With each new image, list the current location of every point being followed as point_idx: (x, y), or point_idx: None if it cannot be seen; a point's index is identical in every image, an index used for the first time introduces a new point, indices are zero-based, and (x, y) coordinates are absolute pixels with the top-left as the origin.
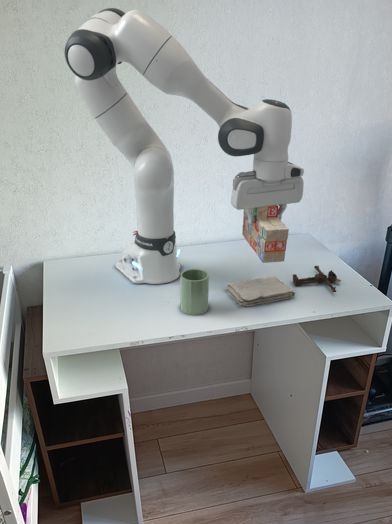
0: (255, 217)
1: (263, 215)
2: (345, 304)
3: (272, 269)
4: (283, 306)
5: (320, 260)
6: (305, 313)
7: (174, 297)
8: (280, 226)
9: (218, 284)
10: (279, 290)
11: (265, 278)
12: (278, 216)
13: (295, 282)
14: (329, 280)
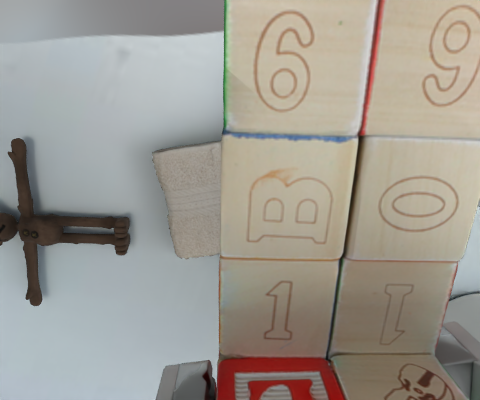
0: (450, 363)
1: (378, 376)
2: (6, 80)
3: (164, 321)
4: (203, 110)
5: (10, 349)
6: (151, 52)
7: (475, 220)
8: (298, 84)
9: None
10: (201, 161)
11: (216, 246)
12: (191, 386)
13: (127, 222)
14: (16, 220)
